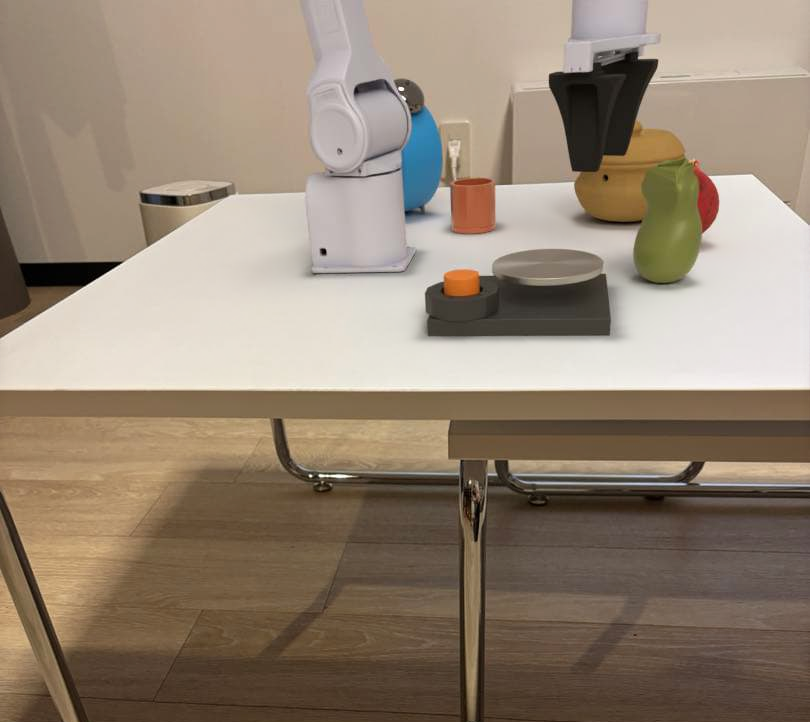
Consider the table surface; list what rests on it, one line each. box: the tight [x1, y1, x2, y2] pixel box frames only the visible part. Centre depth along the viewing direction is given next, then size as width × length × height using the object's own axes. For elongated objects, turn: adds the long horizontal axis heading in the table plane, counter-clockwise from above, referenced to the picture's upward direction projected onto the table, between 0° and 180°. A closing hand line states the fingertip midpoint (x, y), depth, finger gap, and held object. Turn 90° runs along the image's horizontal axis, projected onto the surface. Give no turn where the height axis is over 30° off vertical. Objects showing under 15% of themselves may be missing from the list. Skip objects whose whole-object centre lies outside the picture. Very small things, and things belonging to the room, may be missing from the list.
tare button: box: [443, 268, 480, 296], centre depth 65 cm, size 3×3×2 cm
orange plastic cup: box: [449, 177, 497, 235], centre depth 93 cm, size 5×5×5 cm
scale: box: [424, 273, 612, 337], centre depth 68 cm, size 14×12×3 cm
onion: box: [688, 158, 720, 235], centre depth 80 cm, size 6×6×8 cm
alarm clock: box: [394, 77, 444, 215], centre depth 100 cm, size 13×6×15 cm, turn 40°
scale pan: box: [491, 248, 604, 286], centre depth 68 cm, size 9×9×1 cm
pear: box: [632, 157, 703, 284], centre depth 70 cm, size 6×5×10 cm
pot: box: [573, 120, 686, 223], centre depth 91 cm, size 12×12×10 cm
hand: (599, 162), depth 70 cm, fingers open, 7 cm apart
